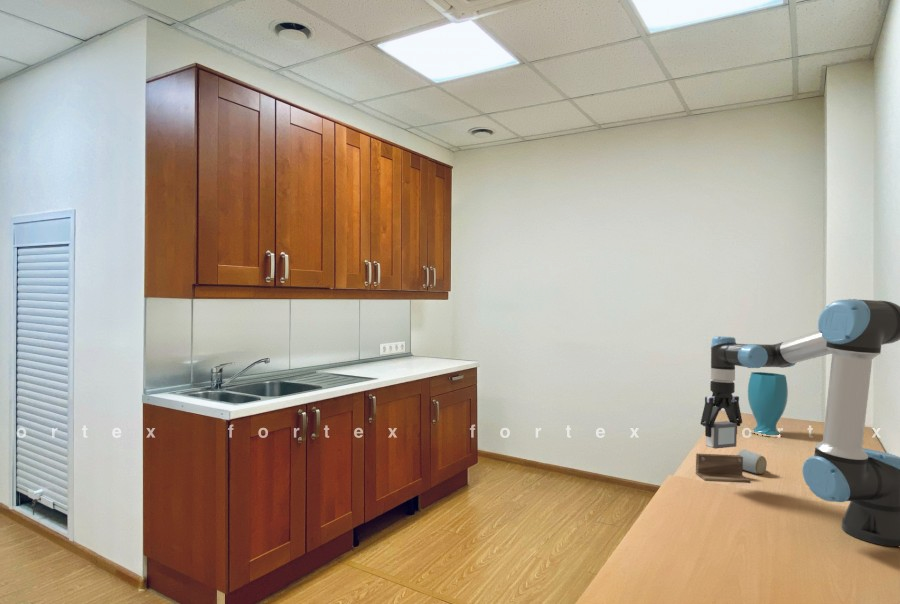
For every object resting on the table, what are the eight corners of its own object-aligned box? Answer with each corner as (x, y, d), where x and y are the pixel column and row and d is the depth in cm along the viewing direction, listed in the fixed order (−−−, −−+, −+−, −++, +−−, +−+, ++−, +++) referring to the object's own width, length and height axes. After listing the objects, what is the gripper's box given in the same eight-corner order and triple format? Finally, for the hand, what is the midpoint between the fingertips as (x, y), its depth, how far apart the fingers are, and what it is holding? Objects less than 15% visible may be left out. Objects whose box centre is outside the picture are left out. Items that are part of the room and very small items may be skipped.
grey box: (736, 446, 187) (737, 423, 188) (715, 448, 183) (716, 425, 184) (726, 443, 191) (726, 421, 191) (705, 445, 187) (706, 422, 187)
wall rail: (750, 482, 192) (750, 461, 192) (704, 480, 192) (705, 459, 192) (739, 475, 199) (740, 455, 199) (695, 473, 200) (696, 453, 200)
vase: (738, 430, 275) (740, 371, 275) (764, 429, 281) (766, 371, 281) (767, 439, 259) (769, 376, 259) (794, 437, 264) (796, 376, 264)
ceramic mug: (757, 476, 199) (758, 455, 199) (735, 470, 206) (736, 450, 206) (772, 472, 205) (773, 452, 205) (750, 467, 212) (751, 447, 212)
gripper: (736, 378, 196) (734, 440, 195) (689, 380, 187) (688, 444, 186) (754, 381, 189) (753, 445, 188) (707, 383, 180) (706, 450, 179)
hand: (721, 445), depth 187 cm, fingers closed on grey box, 10 cm apart
